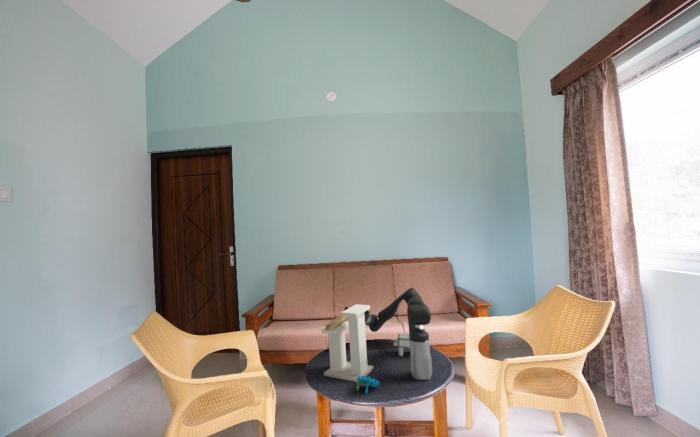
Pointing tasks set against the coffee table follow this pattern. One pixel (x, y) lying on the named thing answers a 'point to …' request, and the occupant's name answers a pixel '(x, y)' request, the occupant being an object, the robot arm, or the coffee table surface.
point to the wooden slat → (336, 322)
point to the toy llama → (404, 341)
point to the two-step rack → (357, 346)
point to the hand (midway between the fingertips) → (352, 308)
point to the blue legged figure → (366, 382)
